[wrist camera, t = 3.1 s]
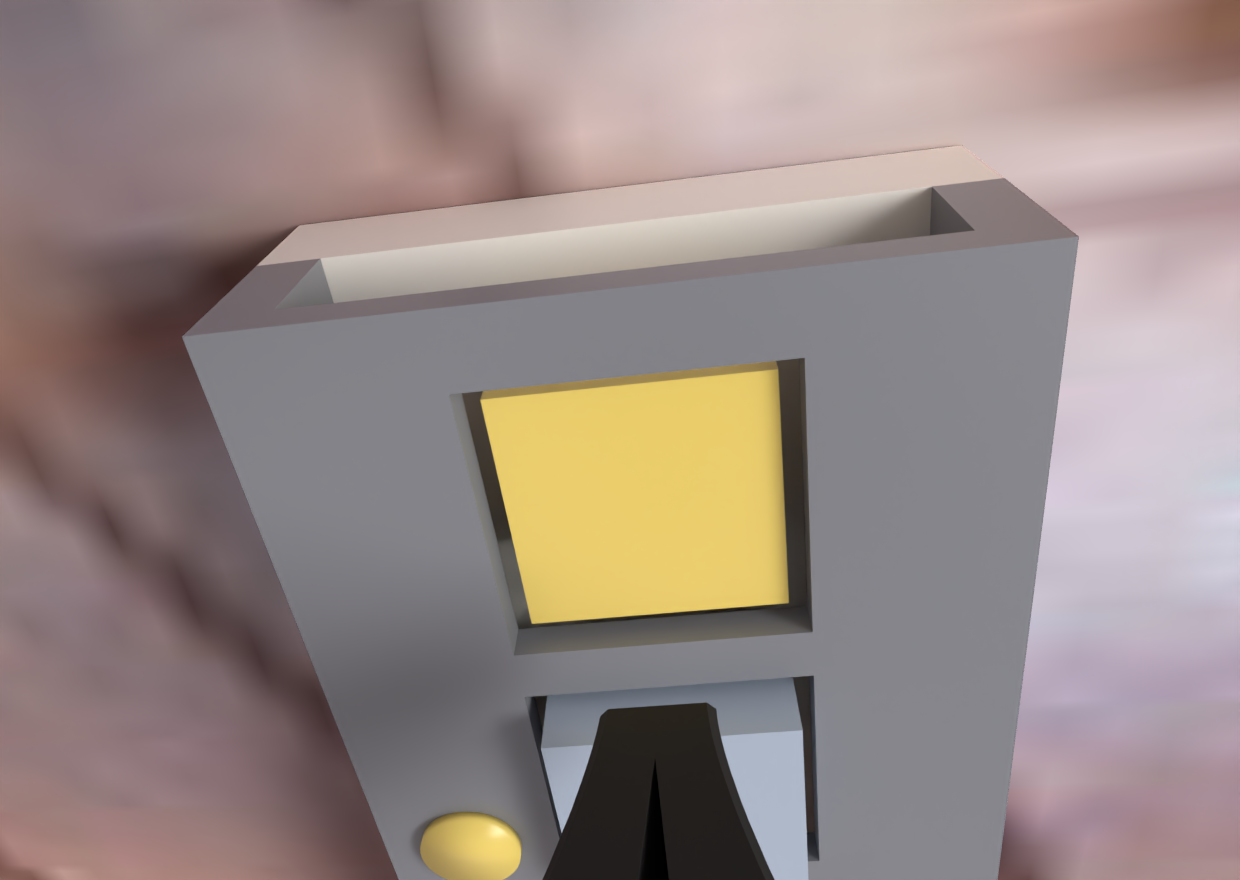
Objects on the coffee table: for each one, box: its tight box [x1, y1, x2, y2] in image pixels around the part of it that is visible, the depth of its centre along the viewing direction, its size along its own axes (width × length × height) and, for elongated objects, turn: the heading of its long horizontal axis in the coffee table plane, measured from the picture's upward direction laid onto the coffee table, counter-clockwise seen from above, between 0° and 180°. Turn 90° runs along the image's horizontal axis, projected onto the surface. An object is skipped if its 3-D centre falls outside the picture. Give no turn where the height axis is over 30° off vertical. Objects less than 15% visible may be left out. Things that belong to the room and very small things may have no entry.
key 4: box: [480, 361, 789, 624], centre depth 14 cm, size 4×4×2 cm
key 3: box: [541, 677, 809, 880], centre depth 16 cm, size 4×4×2 cm
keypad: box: [182, 145, 1079, 880], centre depth 19 cm, size 24×11×5 cm, turn 7°
